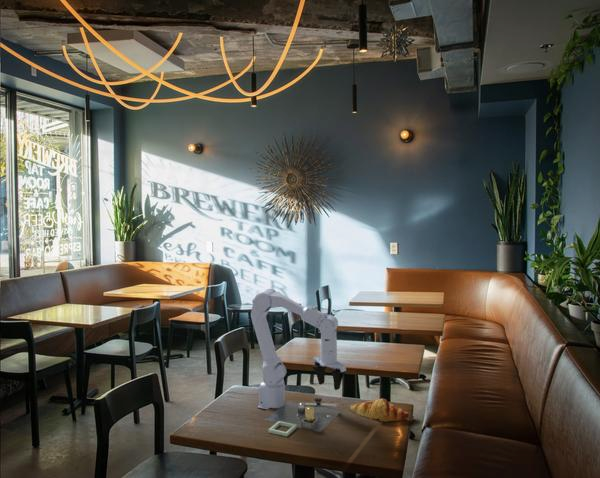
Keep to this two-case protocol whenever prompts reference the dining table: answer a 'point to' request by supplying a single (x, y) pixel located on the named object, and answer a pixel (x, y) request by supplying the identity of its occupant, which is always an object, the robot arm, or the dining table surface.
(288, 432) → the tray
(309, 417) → the olive brown rounded cylinder
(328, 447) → the dining table surface
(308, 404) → the crank
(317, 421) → the crank plate
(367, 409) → the croissant
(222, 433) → the dining table surface
